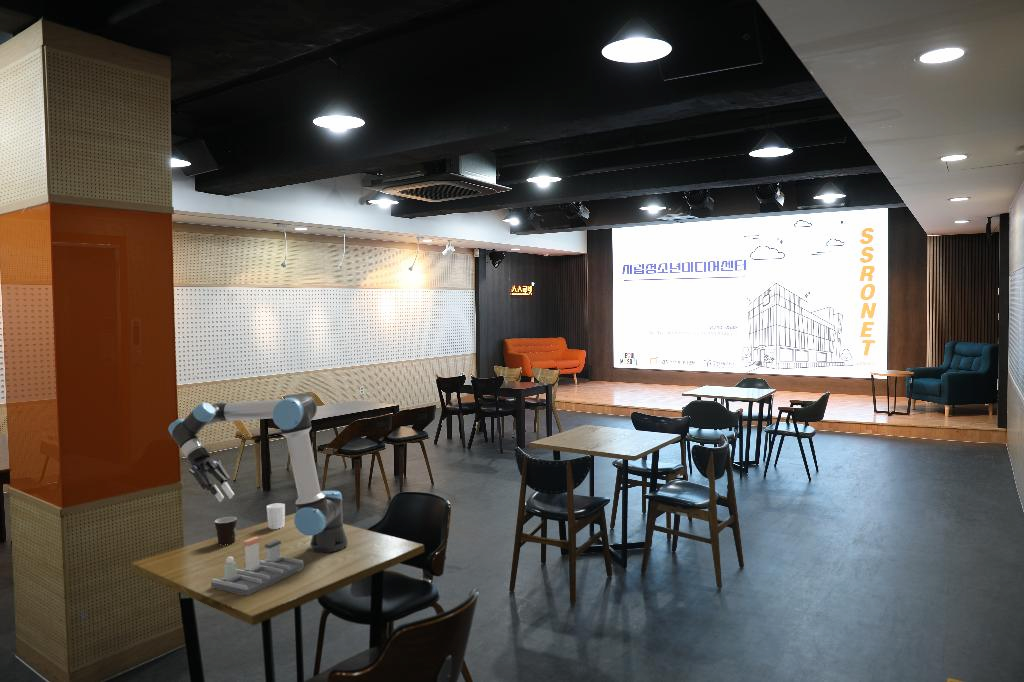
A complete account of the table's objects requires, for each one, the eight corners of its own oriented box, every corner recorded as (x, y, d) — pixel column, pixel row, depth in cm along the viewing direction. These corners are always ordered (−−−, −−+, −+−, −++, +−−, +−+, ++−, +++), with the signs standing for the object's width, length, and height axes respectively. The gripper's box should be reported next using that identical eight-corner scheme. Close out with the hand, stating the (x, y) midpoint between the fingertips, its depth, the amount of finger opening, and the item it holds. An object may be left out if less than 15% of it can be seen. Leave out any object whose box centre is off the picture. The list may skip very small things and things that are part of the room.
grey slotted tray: (211, 587, 246) (210, 578, 246) (269, 561, 270) (269, 553, 270) (247, 595, 238) (247, 586, 237) (304, 568, 262) (303, 560, 261)
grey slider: (264, 562, 262) (263, 544, 262) (275, 557, 267) (274, 539, 267) (271, 564, 260) (271, 545, 260) (282, 559, 265) (282, 540, 265)
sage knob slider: (221, 581, 245) (220, 558, 244) (232, 576, 249) (231, 553, 249) (229, 583, 243) (228, 559, 243) (240, 578, 247) (239, 555, 247)
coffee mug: (229, 546, 289) (228, 523, 288) (211, 546, 290) (210, 522, 290) (245, 537, 300) (244, 515, 300) (228, 537, 302) (227, 514, 301)
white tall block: (243, 572, 253) (241, 541, 253) (255, 566, 258) (253, 536, 258) (250, 573, 252) (249, 542, 251) (262, 568, 257) (261, 537, 256)
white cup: (271, 524, 318) (270, 503, 318) (288, 524, 318) (287, 502, 317) (264, 530, 310) (263, 508, 310) (282, 529, 310) (281, 507, 309)
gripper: (209, 454, 282) (240, 498, 276) (172, 463, 267) (203, 510, 260) (218, 442, 280) (249, 486, 273) (180, 450, 265) (212, 497, 258)
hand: (227, 498), depth 267 cm, fingers open, 4 cm apart
